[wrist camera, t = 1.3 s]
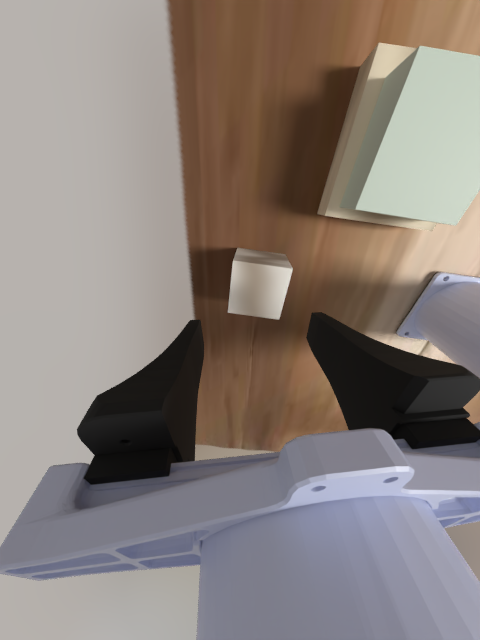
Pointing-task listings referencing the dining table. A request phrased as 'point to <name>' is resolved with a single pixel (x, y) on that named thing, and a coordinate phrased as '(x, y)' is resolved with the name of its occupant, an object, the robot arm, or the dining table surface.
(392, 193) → the sage block
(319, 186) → the dining table surface
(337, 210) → the birch slab
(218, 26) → the dining table surface
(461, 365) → the robot arm
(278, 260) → the ivory cube
